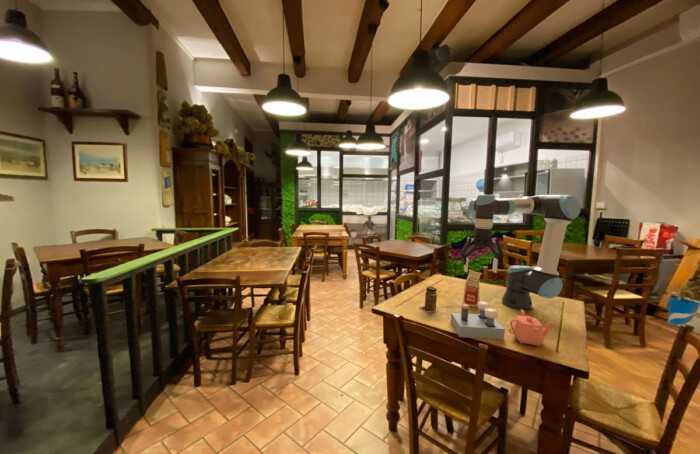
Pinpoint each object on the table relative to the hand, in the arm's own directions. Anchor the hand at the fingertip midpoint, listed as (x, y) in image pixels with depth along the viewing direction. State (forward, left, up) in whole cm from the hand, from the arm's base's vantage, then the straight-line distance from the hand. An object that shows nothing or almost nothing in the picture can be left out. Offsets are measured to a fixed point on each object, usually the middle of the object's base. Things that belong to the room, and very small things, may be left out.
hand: (479, 271), depth 130 cm
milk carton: (-8, -28, -27) cm, 40 cm away
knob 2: (-2, +10, -22) cm, 25 cm away
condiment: (+19, -16, -27) cm, 37 cm away
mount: (+2, +6, -27) cm, 28 cm away
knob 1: (-2, +2, -22) cm, 23 cm away
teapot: (-18, +13, -27) cm, 35 cm away
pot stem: (+8, +6, -22) cm, 24 cm away
